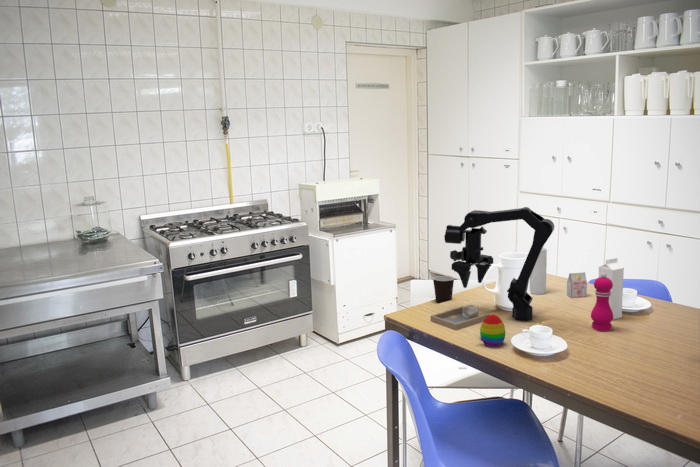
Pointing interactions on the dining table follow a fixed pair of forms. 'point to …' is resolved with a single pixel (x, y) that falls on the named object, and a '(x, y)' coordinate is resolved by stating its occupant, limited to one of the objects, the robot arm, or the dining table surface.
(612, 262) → the milk
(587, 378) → the dining table surface
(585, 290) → the printed paper bag
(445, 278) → the coffee mug
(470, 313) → the block
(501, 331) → the decorative egg
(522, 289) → the robot arm
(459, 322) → the brown rectangular tray
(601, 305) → the pepper mill
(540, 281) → the grey bottle
